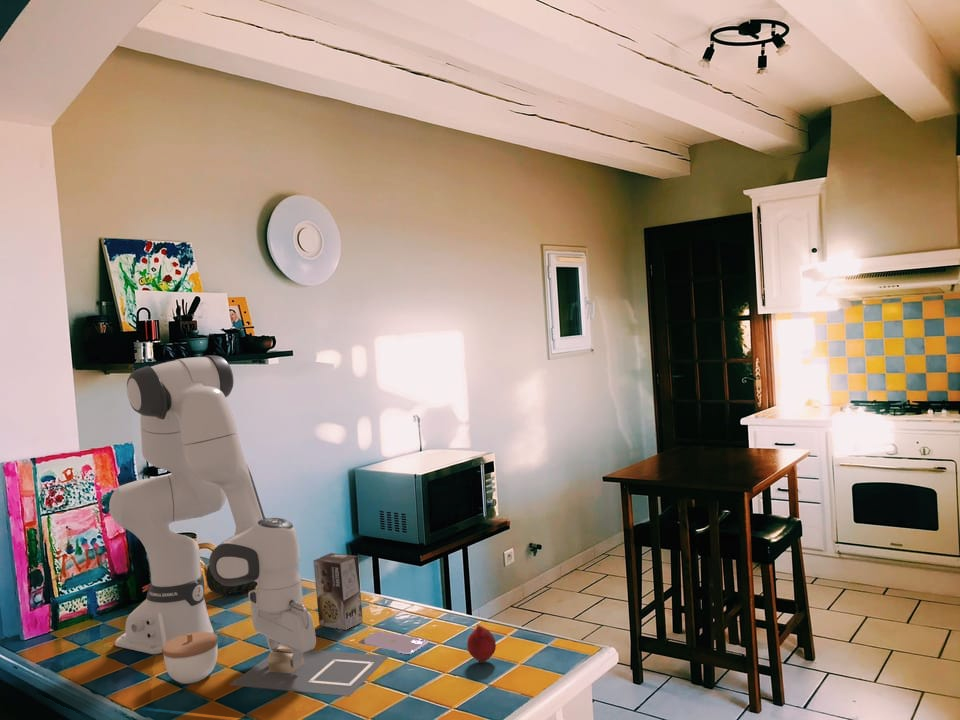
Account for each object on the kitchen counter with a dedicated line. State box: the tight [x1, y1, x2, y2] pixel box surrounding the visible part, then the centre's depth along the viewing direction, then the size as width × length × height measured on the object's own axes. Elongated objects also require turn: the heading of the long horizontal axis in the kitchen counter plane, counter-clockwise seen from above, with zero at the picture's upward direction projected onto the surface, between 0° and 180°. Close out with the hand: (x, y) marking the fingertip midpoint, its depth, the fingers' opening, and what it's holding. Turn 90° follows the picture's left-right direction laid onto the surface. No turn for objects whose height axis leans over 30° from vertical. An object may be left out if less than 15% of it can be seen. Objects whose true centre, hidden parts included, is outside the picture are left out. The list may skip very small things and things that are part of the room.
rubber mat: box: [229, 649, 390, 697], centre depth 155 cm, size 27×18×1 cm, turn 72°
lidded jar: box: [162, 632, 219, 685], centre depth 156 cm, size 11×11×9 cm
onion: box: [466, 623, 497, 664], centre depth 154 cm, size 6×6×8 cm
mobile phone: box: [358, 631, 429, 655], centre depth 167 cm, size 8×1×15 cm
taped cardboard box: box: [267, 645, 304, 674], centre depth 157 cm, size 6×4×4 cm
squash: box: [205, 565, 258, 596], centre depth 211 cm, size 14×15×15 cm
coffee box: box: [313, 552, 364, 631], centre depth 181 cm, size 9×6×16 cm
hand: (286, 661), depth 157 cm, fingers closed on taped cardboard box, 7 cm apart
